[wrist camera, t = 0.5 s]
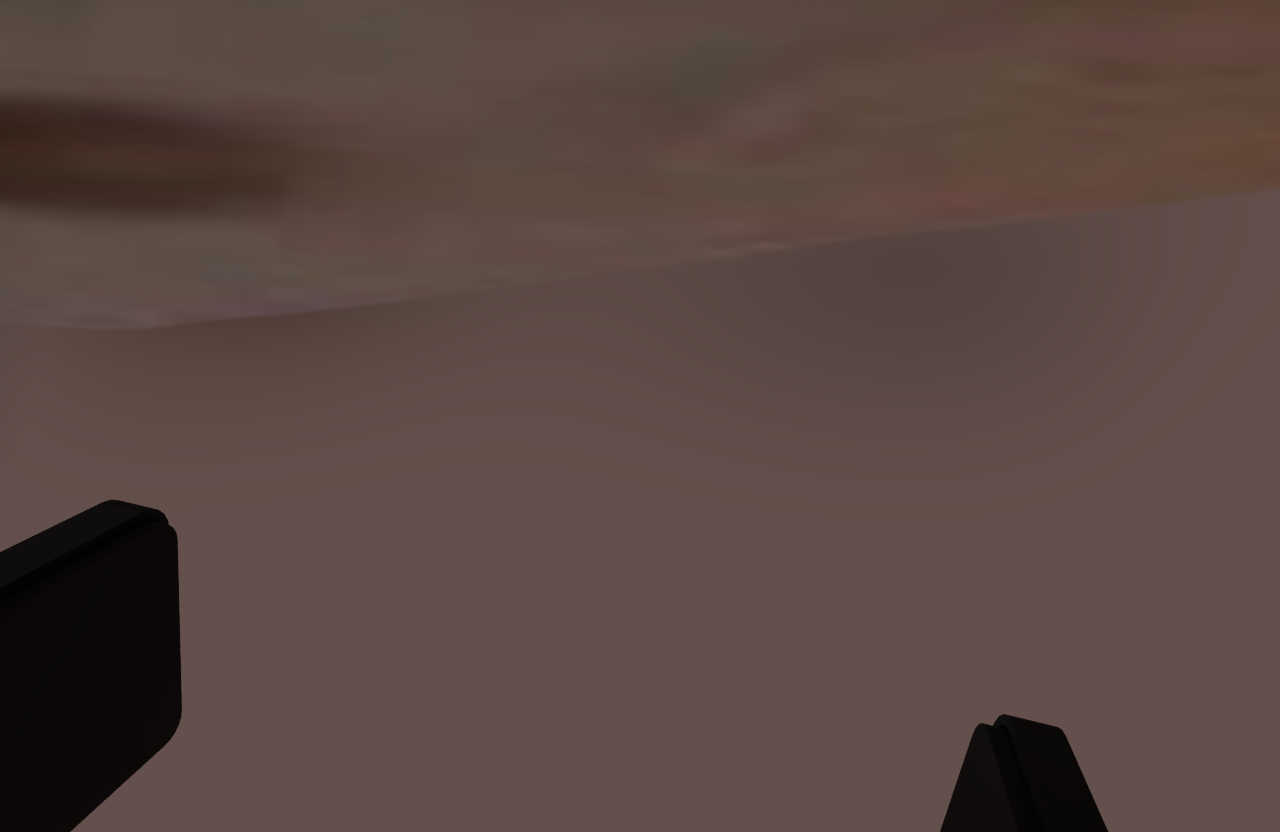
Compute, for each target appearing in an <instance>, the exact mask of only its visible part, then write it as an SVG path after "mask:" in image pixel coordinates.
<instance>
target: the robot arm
mask: <svg viewBox="0 0 1280 832" xmlns="http://www.w3.org/2000/svg"><path fill="white" fill-rule="evenodd" d="M181 698H182V695H181V657H180V617H179V579H178V540H177V534H176V531H175V530H174V528H173V527H171V526H170V525H169V523H168V520H167V518H166V516H165V514H164V513H162V512H161V511H159V510H157V509H152V508H148V507H144V506H140V505H136V504H132V503H127V502H124V501H119V500H109V501H105V502H102V503H100V504H98V505H96V506H94V507H92V508H90V509H88V510H86V511H84V512H82V513H80V514H78V515H75V516H74V517H72V518H70V519H67V520H65V521H63V522H61V523H59V524H57V525H55V526H53V527H51V528H49V529H47V530H45V531H43V532H41V533H39V534H36V535H34V536H32V537H30V538H28V539H26V540H24V541H22V542H20V543H18V544H16V545H14V546H12V547H10V548H8V549H6V550H4V551H2V552H0V832H70V831H72V830H73V829H74V828H75V827H76V826H77V825H78V824H79V823H80V822H81V821H82V820H84V819H85V818H86V817H87V816H88V815H89V814H90V813H91V812H92V811H93V810H95V809H96V808H97V807H98V806H99V805H100V804H101V803H102V802H103V801H104V800H106V799H107V798H108V797H109V796H110V795H111V794H112V793H113V792H114V791H115V790H116V789H118V788H119V787H120V786H121V785H122V784H123V783H124V782H125V781H126V780H128V779H129V778H130V777H131V776H132V775H133V774H134V773H135V772H136V771H137V770H138V769H140V768H141V767H142V766H143V765H144V764H145V763H146V762H147V761H148V760H149V759H151V758H152V757H153V756H154V755H155V754H156V753H157V752H158V751H159V750H160V749H162V748H163V746H165V745H166V744H167V743H168V741H169V740H170V739H171V738H172V736H173V735H174V733H175V732H176V729H177V727H178V725H179V722H180V719H181V712H182V699H181ZM940 832H1108V830H1107V828H1106V826H1105V824H1104V821H1103V819H1102V817H1101V815H1100V812H1099V810H1098V808H1097V805H1096V803H1095V801H1094V799H1093V796H1092V794H1091V792H1090V790H1089V787H1088V785H1087V783H1086V781H1085V778H1084V776H1083V774H1082V772H1081V769H1080V767H1079V765H1078V763H1077V760H1076V758H1075V756H1074V753H1073V751H1072V749H1071V747H1070V744H1069V742H1068V740H1067V738H1066V735H1065V734H1064V732H1063V731H1062V729H1060V728H1058V727H1055V726H1051V725H1047V724H1043V723H1039V722H1034V721H1030V720H1026V719H1022V718H1018V717H1014V716H1009V715H1005V714H1003V715H1001V716H999V717H998V718H997V720H996V721H995V723H994V725H993V726H991V725H987V724H983V723H981V724H979V725H978V726H977V727H976V728H975V731H974V733H973V735H972V738H971V741H970V744H969V747H968V750H967V753H966V756H965V759H964V762H963V765H962V768H961V771H960V774H959V777H958V780H957V783H956V786H955V789H954V792H953V795H952V798H951V801H950V804H949V807H948V810H947V813H946V816H945V818H944V822H943V824H942V828H941V831H940Z"/></svg>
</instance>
